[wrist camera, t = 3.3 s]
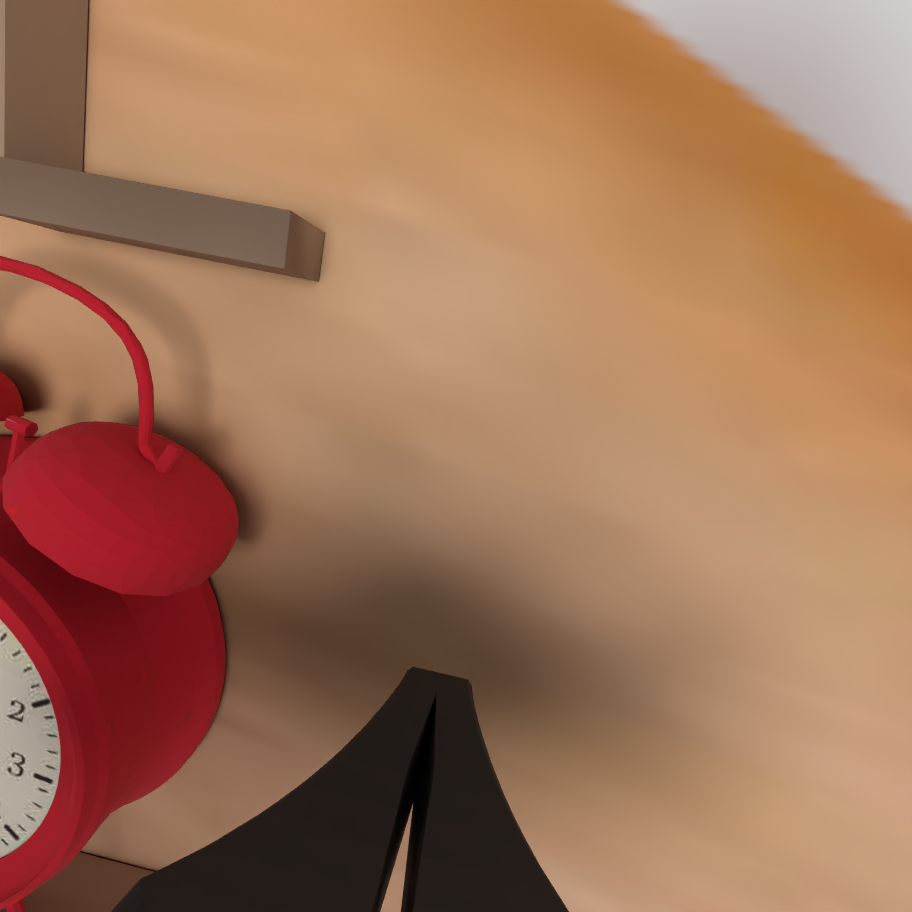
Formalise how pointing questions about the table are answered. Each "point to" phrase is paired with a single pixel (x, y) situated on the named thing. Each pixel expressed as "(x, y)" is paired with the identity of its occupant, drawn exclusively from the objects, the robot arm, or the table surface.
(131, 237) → the wall
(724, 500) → the table surface
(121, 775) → the alarm clock
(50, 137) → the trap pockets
